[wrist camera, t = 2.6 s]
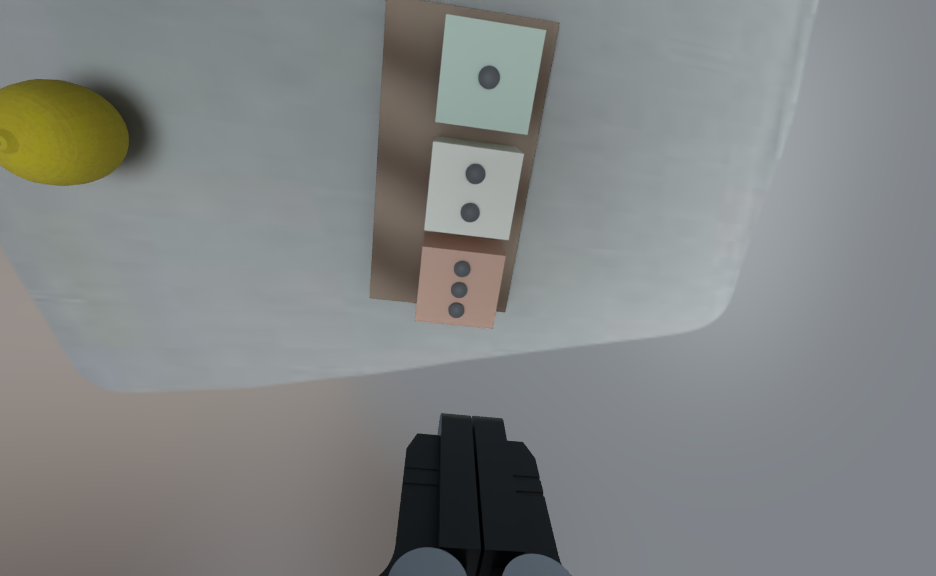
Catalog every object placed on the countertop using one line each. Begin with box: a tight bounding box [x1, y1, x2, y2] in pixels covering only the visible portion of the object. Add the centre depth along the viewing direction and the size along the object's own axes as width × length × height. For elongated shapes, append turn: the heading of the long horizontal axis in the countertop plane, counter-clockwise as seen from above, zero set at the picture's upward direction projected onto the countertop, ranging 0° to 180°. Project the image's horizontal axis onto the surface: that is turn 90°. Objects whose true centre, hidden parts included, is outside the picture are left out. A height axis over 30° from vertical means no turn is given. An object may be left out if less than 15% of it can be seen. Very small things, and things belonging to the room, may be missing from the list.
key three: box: [415, 232, 506, 329], centre depth 30 cm, size 5×5×3 cm
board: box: [370, 0, 559, 312], centre depth 31 cm, size 19×10×1 cm, turn 172°
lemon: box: [0, 79, 129, 186], centre depth 26 cm, size 6×6×8 cm
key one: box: [435, 14, 546, 135], centre depth 25 cm, size 5×5×3 cm
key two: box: [424, 136, 524, 240], centre depth 27 cm, size 5×5×3 cm
